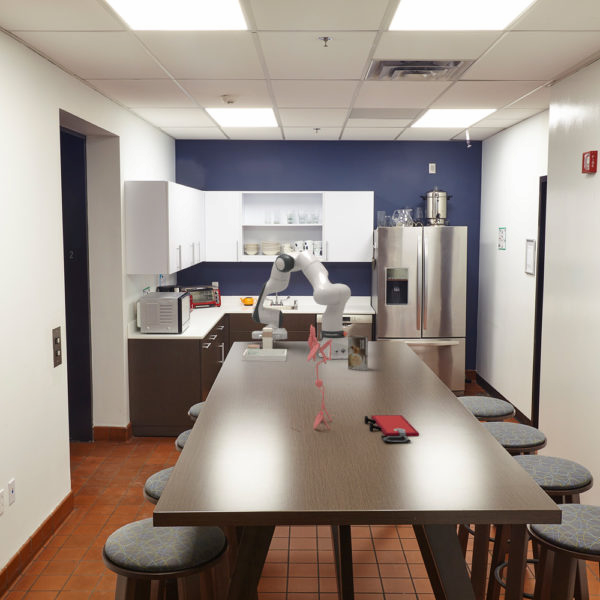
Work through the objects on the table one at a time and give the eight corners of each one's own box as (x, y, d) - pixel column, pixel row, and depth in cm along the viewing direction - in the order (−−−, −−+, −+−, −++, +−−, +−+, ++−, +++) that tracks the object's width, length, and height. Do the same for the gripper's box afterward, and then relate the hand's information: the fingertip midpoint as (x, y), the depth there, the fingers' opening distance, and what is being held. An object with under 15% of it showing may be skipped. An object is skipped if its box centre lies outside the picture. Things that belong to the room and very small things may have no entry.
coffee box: (368, 367, 325) (368, 335, 324) (365, 370, 319) (366, 337, 317) (350, 366, 328) (350, 334, 326) (347, 369, 322) (347, 336, 320)
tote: (287, 356, 353) (287, 349, 353) (285, 363, 335) (285, 355, 335) (246, 356, 353) (246, 348, 353) (242, 362, 335) (242, 355, 335)
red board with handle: (379, 444, 208) (425, 444, 210) (379, 436, 208) (425, 435, 210) (361, 419, 238) (401, 418, 240) (361, 411, 238) (401, 411, 239)
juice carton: (272, 352, 364) (272, 327, 362) (271, 354, 359) (272, 329, 357) (263, 352, 364) (263, 327, 362) (262, 354, 359) (262, 329, 357)
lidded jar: (260, 357, 345) (260, 344, 345) (259, 359, 339) (259, 346, 338) (248, 357, 345) (248, 344, 345) (246, 359, 339) (246, 346, 338)
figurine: (335, 414, 241) (334, 320, 238) (329, 436, 216) (328, 331, 212) (294, 413, 243) (292, 320, 240) (283, 435, 218) (281, 330, 214)
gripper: (252, 327, 382) (250, 331, 368) (287, 328, 381) (286, 331, 368) (252, 338, 383) (250, 342, 369) (287, 338, 382) (286, 342, 368)
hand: (268, 337), depth 368 cm, fingers open, 8 cm apart
